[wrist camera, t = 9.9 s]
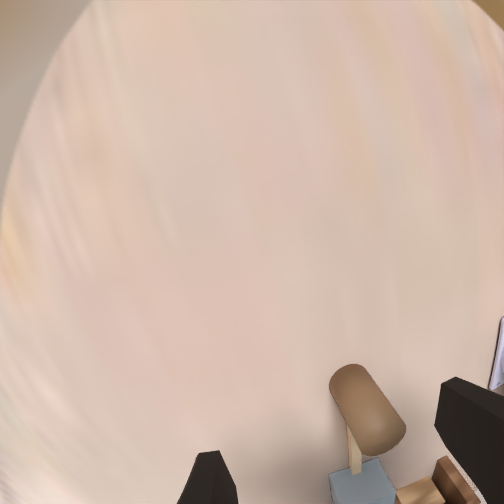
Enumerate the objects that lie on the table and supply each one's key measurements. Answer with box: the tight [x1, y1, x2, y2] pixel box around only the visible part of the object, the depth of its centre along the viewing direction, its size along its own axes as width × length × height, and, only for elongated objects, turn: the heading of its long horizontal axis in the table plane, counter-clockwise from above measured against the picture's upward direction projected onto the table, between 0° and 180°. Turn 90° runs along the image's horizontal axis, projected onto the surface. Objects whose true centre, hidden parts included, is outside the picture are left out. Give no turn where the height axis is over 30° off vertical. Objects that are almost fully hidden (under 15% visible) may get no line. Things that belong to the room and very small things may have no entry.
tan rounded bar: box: [329, 364, 406, 504], centre depth 19 cm, size 4×16×6 cm, turn 13°
